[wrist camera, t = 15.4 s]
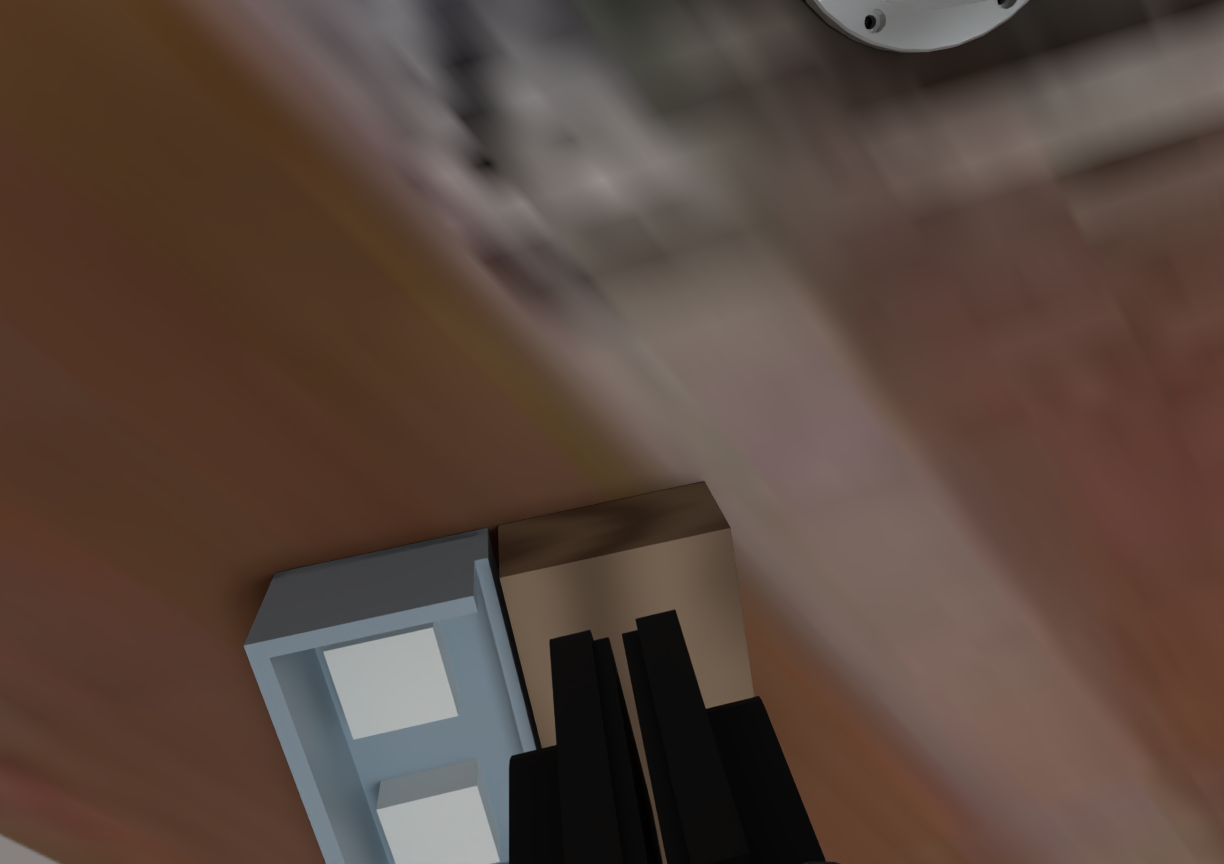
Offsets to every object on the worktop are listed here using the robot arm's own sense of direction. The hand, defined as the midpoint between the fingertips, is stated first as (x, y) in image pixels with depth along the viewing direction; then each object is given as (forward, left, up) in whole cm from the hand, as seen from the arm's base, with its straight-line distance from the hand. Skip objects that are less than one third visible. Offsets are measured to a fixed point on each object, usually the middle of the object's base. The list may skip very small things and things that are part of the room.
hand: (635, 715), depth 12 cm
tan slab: (-1, +21, -30) cm, 37 cm away
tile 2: (+10, +26, -27) cm, 39 cm away
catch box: (+9, +21, -30) cm, 38 cm away
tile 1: (+10, +17, -27) cm, 33 cm away
